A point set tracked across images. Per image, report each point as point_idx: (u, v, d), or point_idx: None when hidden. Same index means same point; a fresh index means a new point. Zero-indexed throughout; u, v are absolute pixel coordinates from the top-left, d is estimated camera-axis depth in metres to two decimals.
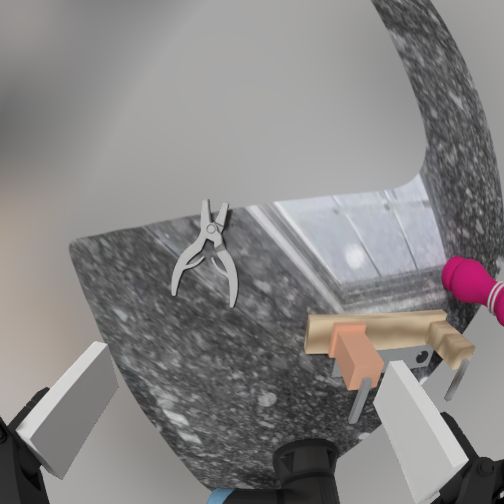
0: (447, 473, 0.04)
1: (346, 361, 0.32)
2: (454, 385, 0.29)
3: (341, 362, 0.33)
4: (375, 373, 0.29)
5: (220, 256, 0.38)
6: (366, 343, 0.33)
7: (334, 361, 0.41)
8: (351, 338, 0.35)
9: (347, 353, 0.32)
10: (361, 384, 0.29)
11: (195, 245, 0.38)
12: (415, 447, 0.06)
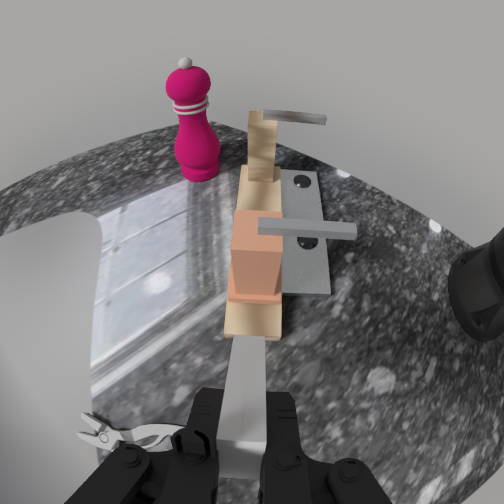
0: (241, 447, 0.07)
1: (250, 269, 0.23)
2: (300, 116, 0.30)
3: (264, 277, 0.25)
4: (252, 217, 0.23)
5: (138, 437, 0.22)
6: None
7: (303, 294, 0.31)
8: None
9: (238, 270, 0.24)
10: (272, 234, 0.22)
11: None
12: None
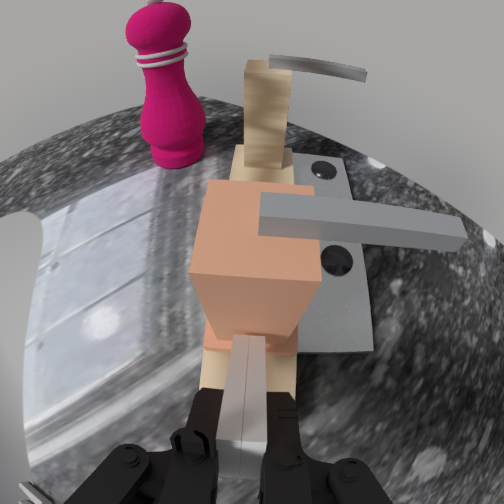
0: (241, 447, 0.07)
1: (241, 311, 0.11)
2: (327, 65, 0.17)
3: (270, 323, 0.12)
4: (247, 196, 0.10)
5: None
6: None
7: (330, 352, 0.18)
8: None
9: (215, 311, 0.11)
10: (295, 235, 0.09)
11: None
12: None
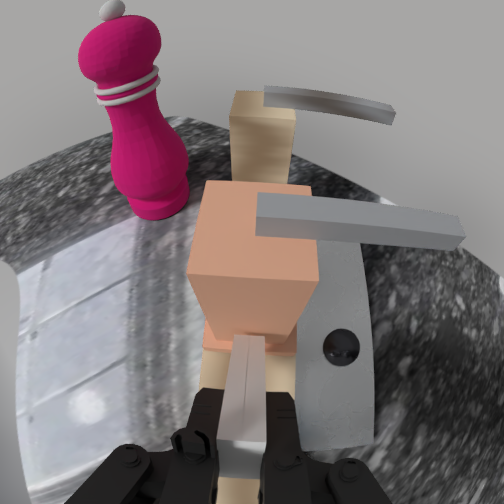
0: (241, 447, 0.07)
1: (239, 311, 0.11)
2: (343, 102, 0.13)
3: (268, 323, 0.12)
4: (244, 197, 0.10)
5: None
6: None
7: None
8: None
9: (214, 311, 0.11)
10: (292, 236, 0.09)
11: None
12: None
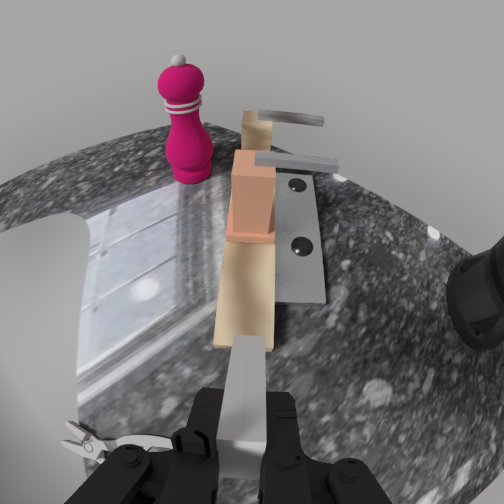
0: (241, 447, 0.07)
1: (247, 198, 0.27)
2: (296, 117, 0.29)
3: (259, 209, 0.28)
4: (250, 155, 0.26)
5: None
6: None
7: (297, 303, 0.30)
8: None
9: (236, 200, 0.27)
10: (267, 166, 0.25)
11: None
12: None
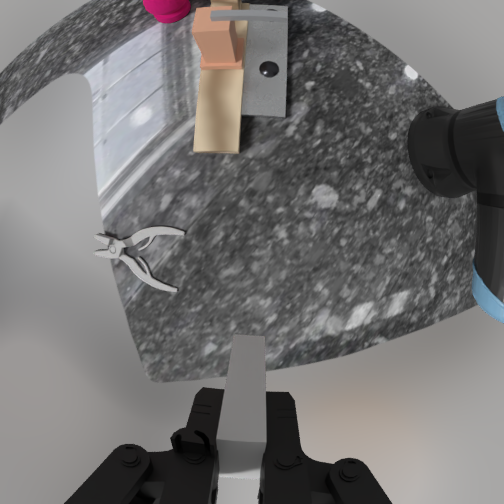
0: (241, 447, 0.07)
1: (210, 43, 0.24)
2: None
3: (222, 49, 0.25)
4: (208, 11, 0.20)
5: (136, 242, 0.39)
6: None
7: (261, 115, 0.34)
8: None
9: (202, 45, 0.24)
10: (222, 20, 0.21)
11: (129, 264, 0.40)
12: None
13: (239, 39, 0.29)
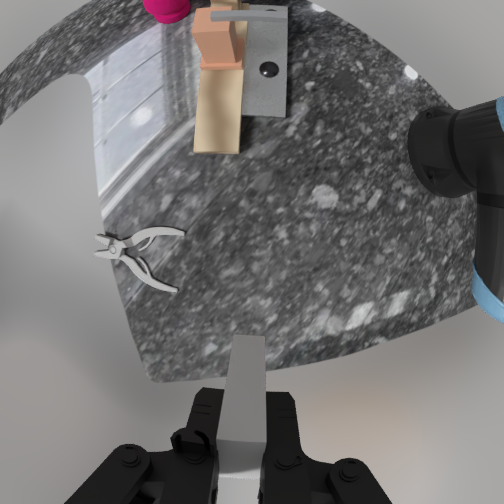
0: (241, 447, 0.07)
1: (210, 44, 0.24)
2: None
3: (222, 49, 0.25)
4: (208, 12, 0.20)
5: (136, 242, 0.39)
6: None
7: (261, 116, 0.34)
8: None
9: (202, 46, 0.24)
10: (222, 20, 0.21)
11: (129, 264, 0.40)
12: None
13: (239, 39, 0.29)
